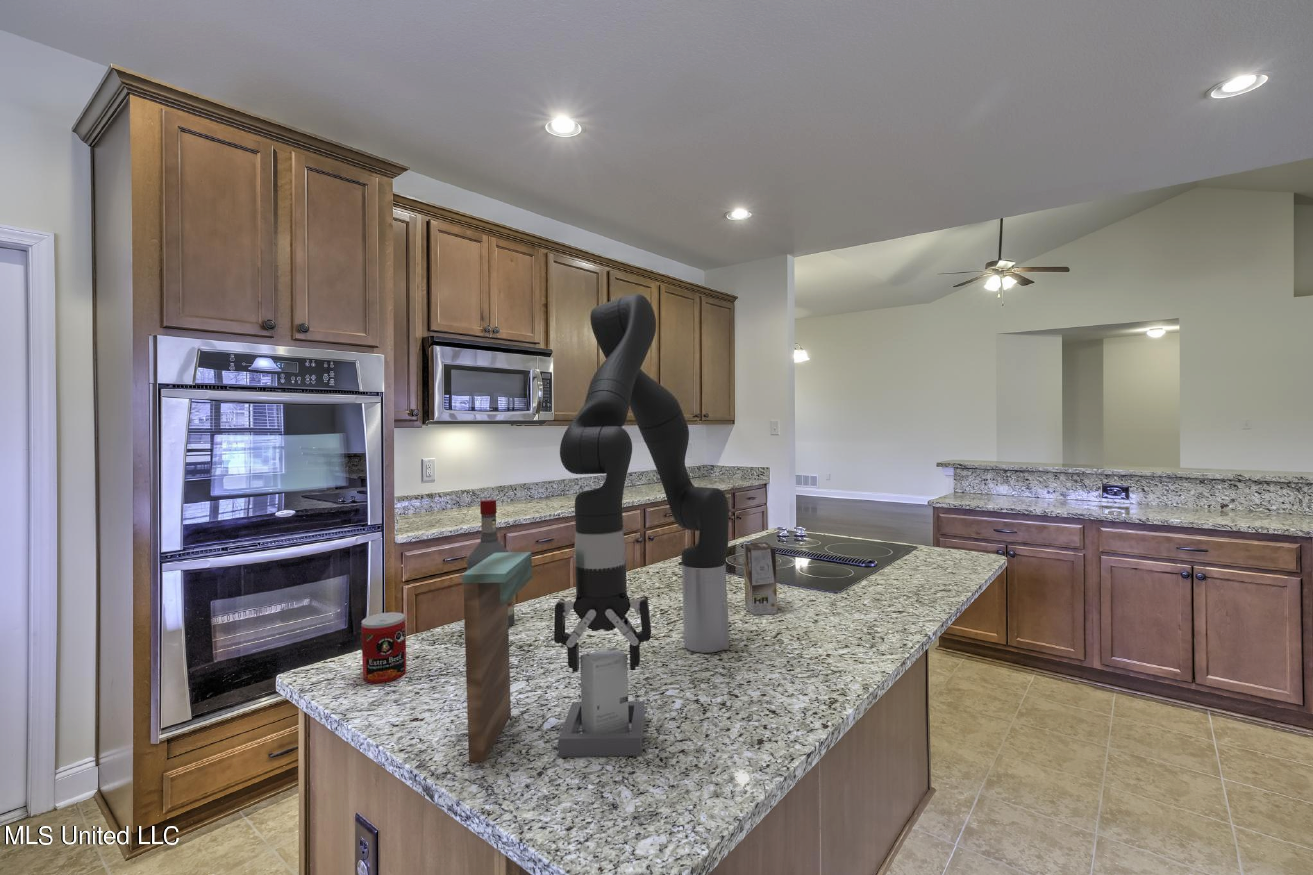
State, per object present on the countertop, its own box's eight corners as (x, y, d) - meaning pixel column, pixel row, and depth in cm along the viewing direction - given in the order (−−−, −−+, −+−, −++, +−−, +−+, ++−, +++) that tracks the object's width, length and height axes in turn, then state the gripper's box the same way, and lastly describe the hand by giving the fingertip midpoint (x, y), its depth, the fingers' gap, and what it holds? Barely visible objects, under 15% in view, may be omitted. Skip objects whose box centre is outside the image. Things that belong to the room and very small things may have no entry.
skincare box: (594, 748, 86) (592, 663, 86) (580, 735, 90) (578, 654, 89) (631, 735, 89) (629, 654, 89) (616, 723, 93) (614, 645, 93)
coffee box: (778, 614, 146) (776, 548, 146) (752, 615, 145) (750, 549, 145) (768, 603, 155) (766, 541, 155) (744, 604, 155) (742, 542, 154)
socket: (645, 716, 95) (644, 700, 95) (640, 755, 83) (640, 737, 83) (572, 717, 95) (572, 701, 95) (558, 756, 84) (558, 738, 84)
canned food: (363, 687, 109) (361, 627, 109) (362, 672, 116) (360, 616, 116) (408, 678, 113) (406, 620, 113) (404, 664, 120) (403, 609, 120)
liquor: (463, 631, 140) (459, 502, 139) (487, 619, 148) (484, 498, 148) (496, 634, 136) (492, 503, 136) (519, 622, 145) (515, 498, 145)
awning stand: (536, 713, 97) (531, 551, 97) (510, 764, 82) (505, 573, 82) (499, 713, 97) (494, 552, 97) (467, 764, 82) (461, 574, 82)
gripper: (649, 554, 93) (652, 658, 93) (557, 556, 93) (561, 660, 93) (647, 565, 85) (651, 678, 85) (547, 568, 85) (551, 681, 86)
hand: (604, 669), depth 89 cm, fingers open, 8 cm apart
